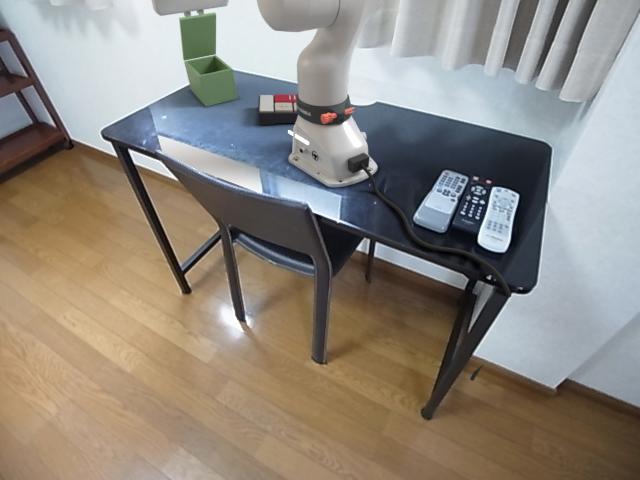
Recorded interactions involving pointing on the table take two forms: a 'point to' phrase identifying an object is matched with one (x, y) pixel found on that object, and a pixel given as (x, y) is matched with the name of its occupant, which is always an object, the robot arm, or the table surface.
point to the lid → (198, 35)
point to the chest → (211, 80)
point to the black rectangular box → (277, 109)
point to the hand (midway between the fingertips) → (197, 28)
